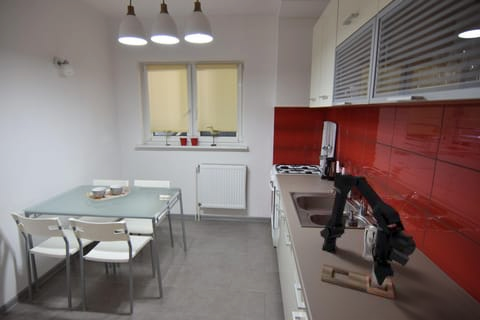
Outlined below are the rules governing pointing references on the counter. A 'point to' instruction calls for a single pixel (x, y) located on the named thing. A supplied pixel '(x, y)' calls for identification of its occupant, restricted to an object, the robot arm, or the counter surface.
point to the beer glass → (369, 241)
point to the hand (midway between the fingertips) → (378, 277)
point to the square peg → (375, 284)
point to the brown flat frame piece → (355, 281)
